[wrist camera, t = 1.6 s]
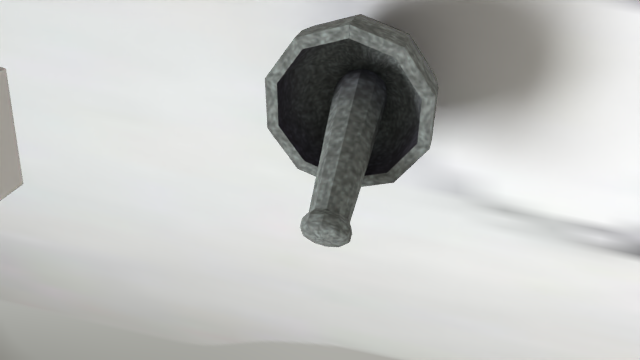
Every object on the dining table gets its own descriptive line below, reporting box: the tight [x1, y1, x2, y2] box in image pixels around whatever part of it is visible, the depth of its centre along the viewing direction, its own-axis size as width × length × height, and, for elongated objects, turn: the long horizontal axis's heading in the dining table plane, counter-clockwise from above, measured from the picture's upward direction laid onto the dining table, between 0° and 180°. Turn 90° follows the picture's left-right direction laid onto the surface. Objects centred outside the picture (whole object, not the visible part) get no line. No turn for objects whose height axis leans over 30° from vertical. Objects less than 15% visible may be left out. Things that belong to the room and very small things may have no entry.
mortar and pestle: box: [265, 14, 438, 247], centre depth 32 cm, size 11×9×12 cm
